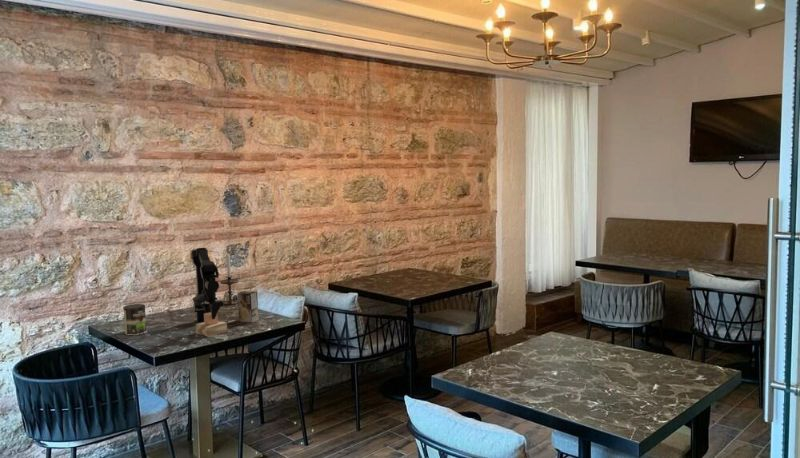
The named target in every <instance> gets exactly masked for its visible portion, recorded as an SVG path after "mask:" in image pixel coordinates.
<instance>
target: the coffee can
mask: <svg viewBox="0 0 800 458" xmlns="http://www.w3.org/2000/svg"><path fill="white" fill-rule="evenodd" d="M123 317H124V318H123V319H124V335H125V334H126V336H129V335H133V336H140V335H143V333H144V334H145V333H147V332H148V331H147V319H146V317H147V316H146V304H144V303H136V304H135V303H134V304H129V305H124V306H123ZM139 334H140V335H139Z"/></svg>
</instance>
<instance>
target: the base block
mask: <svg viewBox="0 0 800 458" xmlns="http://www.w3.org/2000/svg"><path fill="white" fill-rule="evenodd" d="M227 332H228V323H227V322H225V321H221V320H218V323H216V324H211V325H207V324H205V323H204V322H203V323H196V324H195V334H197V335H201V336H205V337H207V338H209V337H213V336H216V335H220V333H221V334H224V333H227Z"/></svg>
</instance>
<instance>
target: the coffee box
mask: <svg viewBox="0 0 800 458" xmlns="http://www.w3.org/2000/svg"><path fill="white" fill-rule="evenodd" d="M258 299H259V296H258V291H253V290H250V291H249V290H242V291H240V292H237V301H238V305H237V306H238V320H239V322H243V323H255V322H257V321H259V319H260V318H259V317H260V316H259V303H258V302H259V300H258Z"/></svg>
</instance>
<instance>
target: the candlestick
mask: <svg viewBox="0 0 800 458" xmlns="http://www.w3.org/2000/svg"><path fill="white" fill-rule="evenodd" d="M226 252H227V253H226V270H227V276H226V278H227V279H222V280H220V282H219V284H220V285H227V287H228V291H227V294H228V295H227V296H228V299H227V300H225V301H223V302H224V306H234V305H237V304H238V300H233V299H232V296H233V295H232V293H233V291H232V286H231V285H234V284H237V283H239V279H236V278H235V279H233V278H232V277H233V276H232V273H231V257H230V256H231V255H230V253H229V249H228V248H227V249H226Z"/></svg>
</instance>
